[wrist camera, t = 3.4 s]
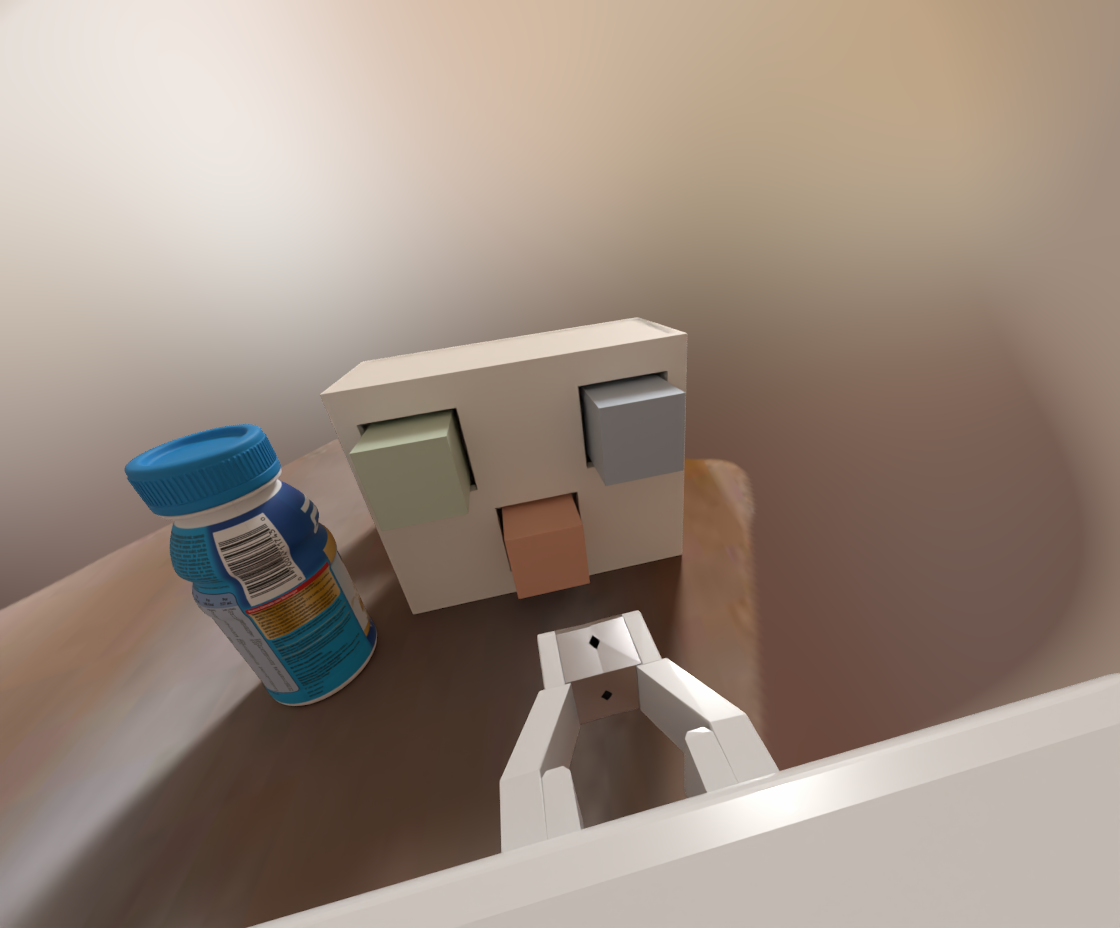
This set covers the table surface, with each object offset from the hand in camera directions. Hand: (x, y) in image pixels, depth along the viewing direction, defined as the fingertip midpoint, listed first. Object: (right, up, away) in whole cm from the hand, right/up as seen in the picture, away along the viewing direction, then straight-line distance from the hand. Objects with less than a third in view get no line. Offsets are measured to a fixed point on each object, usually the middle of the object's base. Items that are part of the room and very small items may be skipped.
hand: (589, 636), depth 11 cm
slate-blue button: (+5, +5, +20) cm, 22 cm away
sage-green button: (-11, +2, +19) cm, 22 cm away
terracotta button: (-2, -4, +24) cm, 24 cm away
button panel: (-2, -4, +30) cm, 31 cm away
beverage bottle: (-20, -12, +22) cm, 32 cm away
